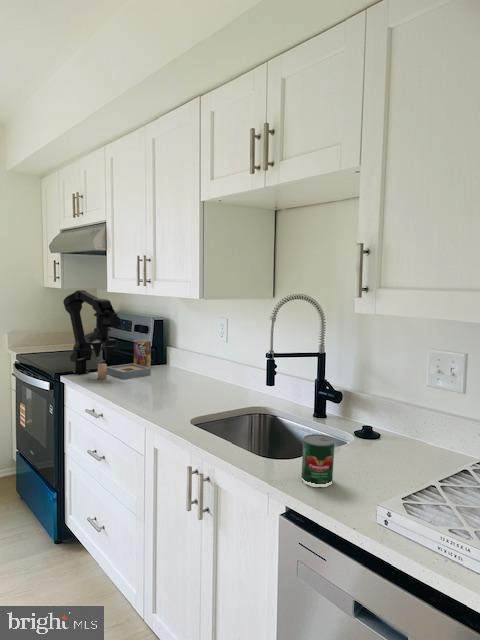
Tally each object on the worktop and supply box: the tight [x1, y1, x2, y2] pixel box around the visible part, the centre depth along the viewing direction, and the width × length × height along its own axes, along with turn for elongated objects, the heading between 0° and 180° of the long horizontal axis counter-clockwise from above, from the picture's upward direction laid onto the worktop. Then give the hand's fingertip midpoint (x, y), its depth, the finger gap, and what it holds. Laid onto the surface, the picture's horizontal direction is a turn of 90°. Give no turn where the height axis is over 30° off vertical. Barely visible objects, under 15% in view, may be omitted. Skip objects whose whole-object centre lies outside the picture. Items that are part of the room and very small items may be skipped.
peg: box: [97, 363, 108, 381], centre depth 227 cm, size 4×4×7 cm
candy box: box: [133, 339, 152, 368], centre depth 256 cm, size 9×4×15 cm, turn 99°
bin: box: [106, 363, 152, 380], centre depth 239 cm, size 16×16×4 cm
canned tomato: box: [301, 433, 336, 484], centre depth 120 cm, size 8×8×11 cm
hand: (102, 358), depth 227 cm, fingers open, 9 cm apart
